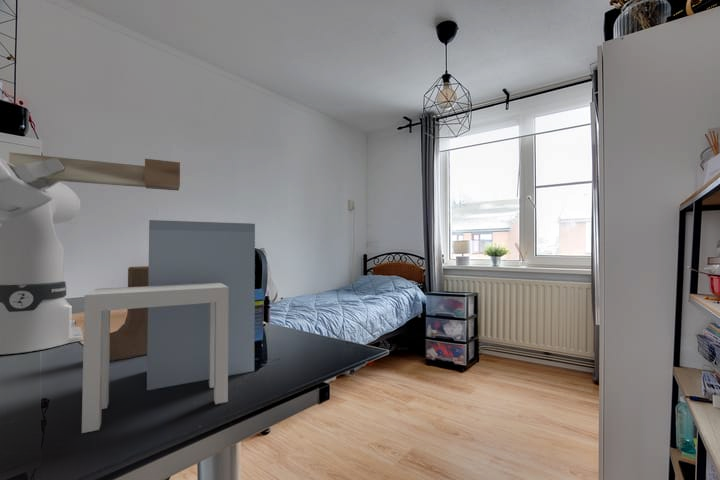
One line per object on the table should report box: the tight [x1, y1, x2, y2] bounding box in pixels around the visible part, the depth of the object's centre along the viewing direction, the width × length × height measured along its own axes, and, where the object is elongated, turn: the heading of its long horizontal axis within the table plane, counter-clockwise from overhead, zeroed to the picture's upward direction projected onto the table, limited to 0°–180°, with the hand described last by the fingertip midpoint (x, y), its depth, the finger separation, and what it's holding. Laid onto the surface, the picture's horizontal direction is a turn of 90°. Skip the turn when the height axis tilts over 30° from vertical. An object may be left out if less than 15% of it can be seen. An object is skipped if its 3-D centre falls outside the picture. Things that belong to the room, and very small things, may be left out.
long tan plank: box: [8, 152, 181, 192], centre depth 54 cm, size 5×21×4 cm, turn 121°
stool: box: [81, 283, 229, 434], centre depth 47 cm, size 8×16×16 cm, turn 120°
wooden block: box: [109, 265, 149, 363], centre depth 69 cm, size 9×4×18 cm, turn 135°
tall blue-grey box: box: [146, 219, 256, 391], centre depth 60 cm, size 10×16×26 cm, turn 120°
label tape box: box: [254, 288, 265, 343], centre depth 78 cm, size 9×4×12 cm, turn 141°
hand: (65, 167), depth 51 cm, fingers closed on long tan plank, 3 cm apart
